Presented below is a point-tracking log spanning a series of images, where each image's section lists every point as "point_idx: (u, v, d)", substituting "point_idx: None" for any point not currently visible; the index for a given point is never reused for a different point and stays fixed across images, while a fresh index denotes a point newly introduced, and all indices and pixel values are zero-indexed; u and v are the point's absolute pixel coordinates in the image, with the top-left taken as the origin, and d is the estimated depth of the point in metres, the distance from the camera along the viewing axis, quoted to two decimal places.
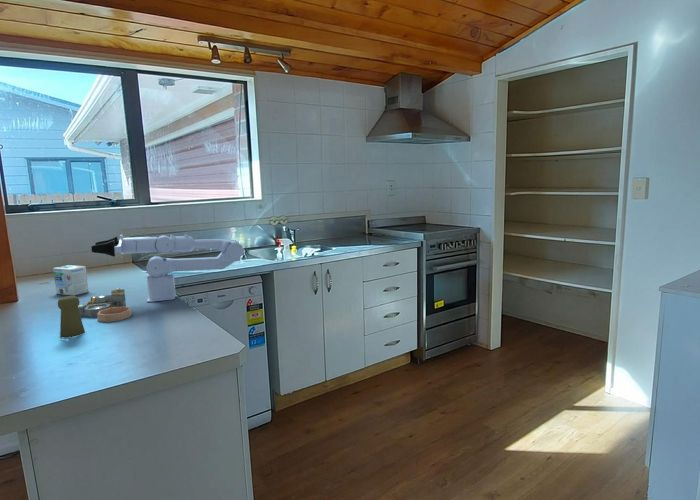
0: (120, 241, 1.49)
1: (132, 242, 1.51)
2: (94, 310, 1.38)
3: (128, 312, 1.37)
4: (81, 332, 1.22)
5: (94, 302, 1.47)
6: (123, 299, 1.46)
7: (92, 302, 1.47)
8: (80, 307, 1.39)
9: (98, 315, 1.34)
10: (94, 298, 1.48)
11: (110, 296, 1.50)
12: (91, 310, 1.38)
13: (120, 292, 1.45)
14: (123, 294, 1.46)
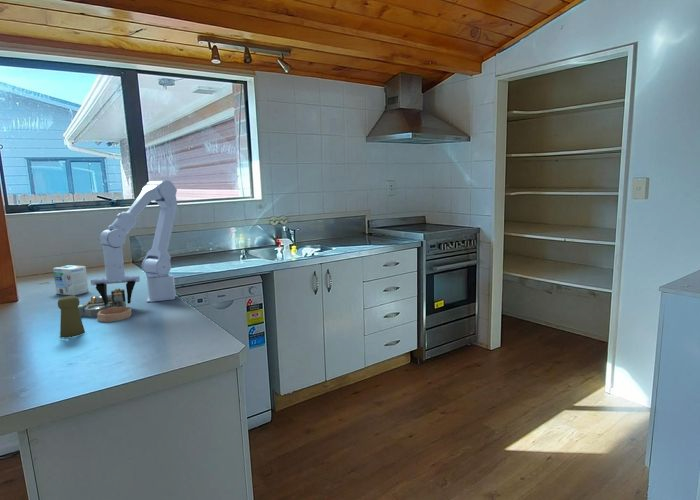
0: (125, 279, 1.44)
1: (122, 268, 1.44)
2: (94, 310, 1.38)
3: (128, 312, 1.37)
4: (81, 332, 1.22)
5: (94, 301, 1.47)
6: (123, 299, 1.46)
7: (92, 301, 1.47)
8: (80, 307, 1.39)
9: (98, 315, 1.34)
10: (95, 297, 1.48)
11: (110, 295, 1.50)
12: (91, 310, 1.38)
13: (120, 292, 1.45)
14: (123, 294, 1.46)
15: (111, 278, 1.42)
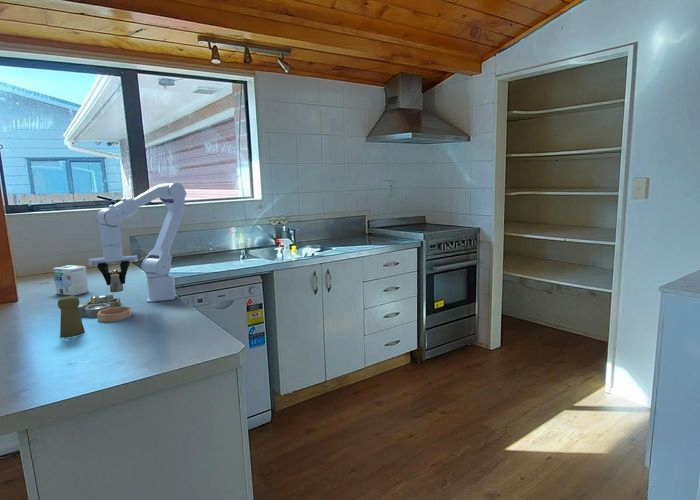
0: (122, 258, 1.43)
1: (119, 247, 1.43)
2: (94, 310, 1.38)
3: (128, 312, 1.37)
4: (81, 332, 1.22)
5: (94, 301, 1.47)
6: (120, 280, 1.45)
7: (92, 301, 1.47)
8: (80, 307, 1.39)
9: (98, 315, 1.34)
10: (95, 297, 1.48)
11: (110, 295, 1.50)
12: (91, 310, 1.38)
13: (117, 273, 1.44)
14: (120, 275, 1.45)
15: (109, 258, 1.41)
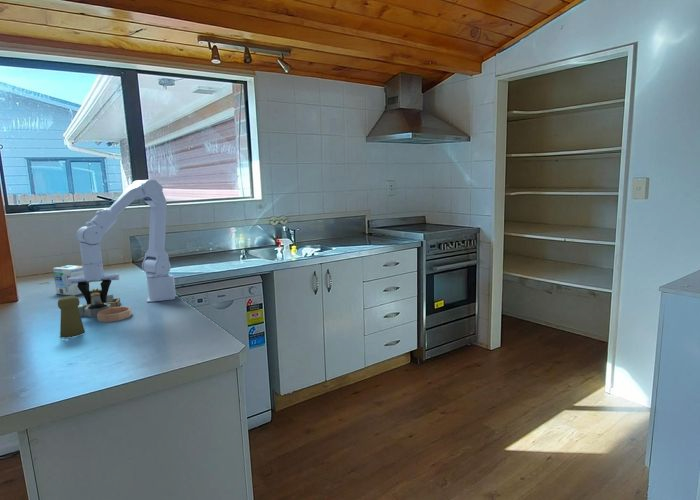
0: (103, 277, 1.39)
1: (100, 266, 1.39)
2: (94, 310, 1.38)
3: (128, 312, 1.37)
4: (81, 332, 1.22)
5: None
6: (101, 299, 1.41)
7: None
8: (80, 307, 1.39)
9: (98, 315, 1.34)
10: None
11: (110, 295, 1.50)
12: (91, 310, 1.38)
13: (98, 292, 1.40)
14: (101, 294, 1.41)
15: (89, 276, 1.37)
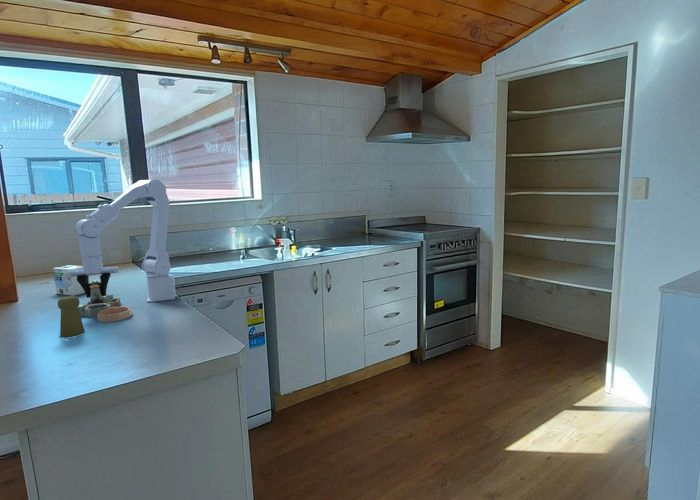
0: (103, 270, 1.39)
1: (99, 259, 1.39)
2: (94, 310, 1.38)
3: (128, 312, 1.37)
4: (81, 332, 1.22)
5: None
6: (100, 292, 1.41)
7: None
8: (80, 307, 1.39)
9: (98, 315, 1.34)
10: None
11: (110, 295, 1.50)
12: (91, 310, 1.38)
13: (97, 284, 1.39)
14: (100, 286, 1.40)
15: (88, 270, 1.37)
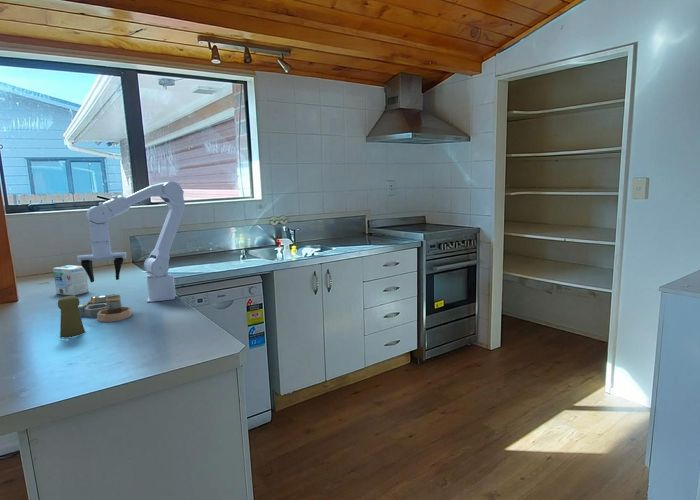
0: (111, 255, 1.45)
1: (108, 244, 1.44)
2: (94, 310, 1.38)
3: (128, 312, 1.37)
4: (81, 332, 1.22)
5: (94, 301, 1.47)
6: (119, 305, 1.37)
7: (92, 301, 1.47)
8: (80, 307, 1.39)
9: (98, 315, 1.34)
10: (95, 297, 1.48)
11: None
12: (91, 310, 1.38)
13: (115, 298, 1.35)
14: (119, 300, 1.37)
15: (97, 254, 1.42)
